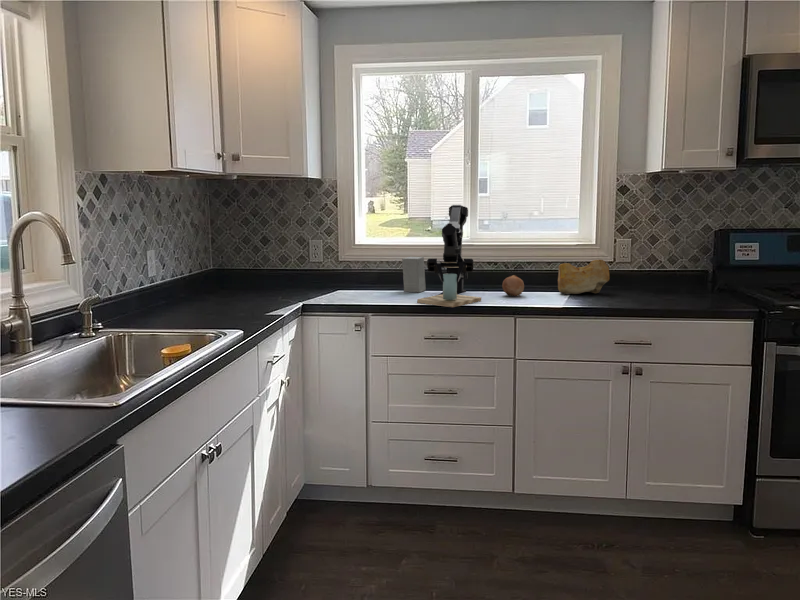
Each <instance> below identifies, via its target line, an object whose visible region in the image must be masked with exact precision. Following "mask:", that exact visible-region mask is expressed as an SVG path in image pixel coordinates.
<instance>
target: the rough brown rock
mask: <svg viewBox="0 0 800 600" xmlns="http://www.w3.org/2000/svg"><path fill="white" fill-rule="evenodd" d="M557 268H558V275H557V289H558V291H559V293H560V294H564V295H568V294H570V295H571V294H572V295H578V294H582V293H592V294H599V293H600V291H602V287H603V286H604V285H605V284H606V283H608V282H610V278H611V277H610V268H609V265H608V264H607V263H606V261H605V260H604V259H593V260H591V261H590V263H588V264H587V265H585V266H581V267H580V266H579V267H576V266H575V265H572V264H571V263H569V262H568V263H567V262H566V263H565V262H564V263H561V264H559V265H558V267H557Z"/></svg>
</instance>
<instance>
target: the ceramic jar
mask: <svg viewBox="0 0 800 600" xmlns="http://www.w3.org/2000/svg"><path fill="white" fill-rule="evenodd" d="M442 276H443V282H442V294H443V299H445V300H455V299H457V295H458V293H457V274H454V273H447V272H446V273H442Z"/></svg>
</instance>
